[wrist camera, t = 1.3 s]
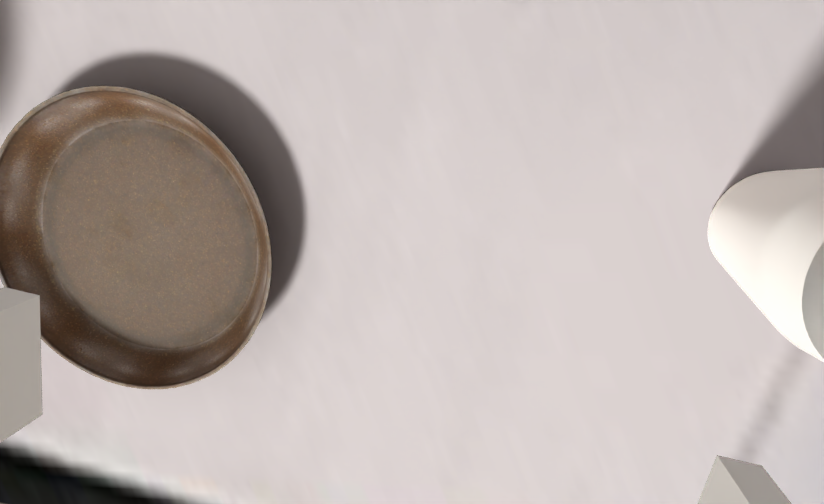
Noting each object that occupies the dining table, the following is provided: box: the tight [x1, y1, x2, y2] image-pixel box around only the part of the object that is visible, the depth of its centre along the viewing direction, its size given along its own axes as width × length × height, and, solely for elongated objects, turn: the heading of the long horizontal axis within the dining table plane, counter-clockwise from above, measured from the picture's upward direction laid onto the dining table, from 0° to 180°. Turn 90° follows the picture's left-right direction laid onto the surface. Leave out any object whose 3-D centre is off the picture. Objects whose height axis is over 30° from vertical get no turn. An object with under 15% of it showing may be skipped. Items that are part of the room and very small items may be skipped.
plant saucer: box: [0, 86, 272, 389], centre depth 36 cm, size 21×21×3 cm
